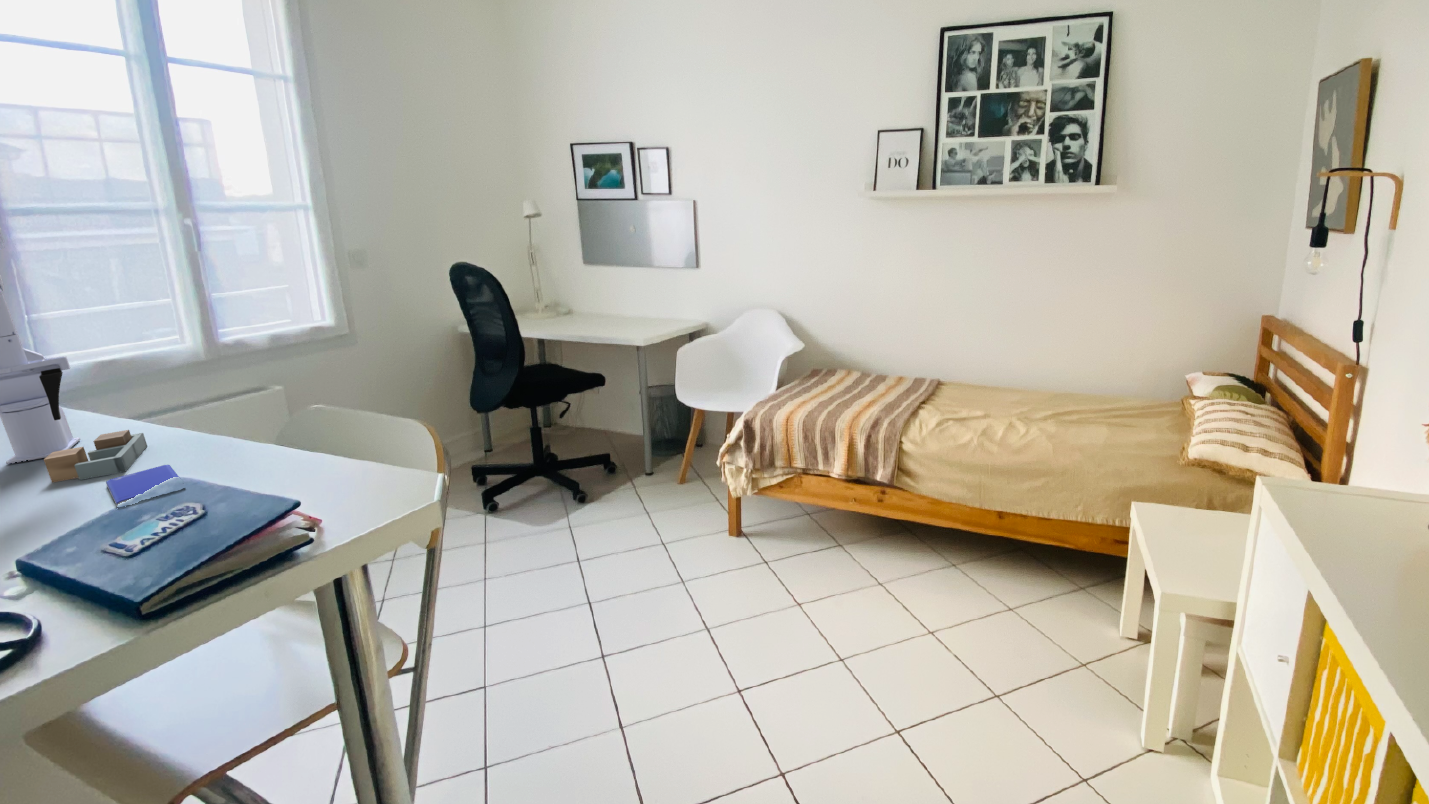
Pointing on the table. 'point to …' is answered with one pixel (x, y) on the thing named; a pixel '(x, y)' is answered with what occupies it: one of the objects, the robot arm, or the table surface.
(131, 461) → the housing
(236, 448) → the table surface
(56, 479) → the block
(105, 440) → the seated block
